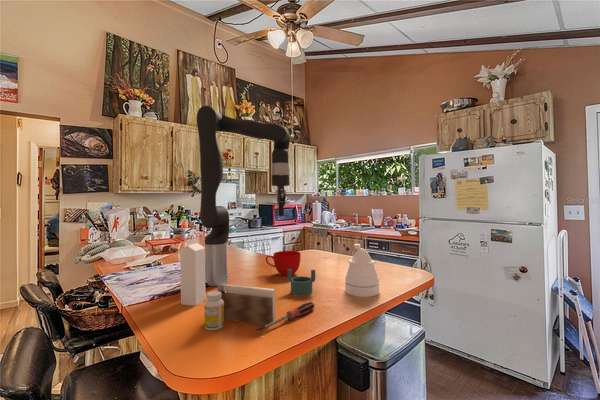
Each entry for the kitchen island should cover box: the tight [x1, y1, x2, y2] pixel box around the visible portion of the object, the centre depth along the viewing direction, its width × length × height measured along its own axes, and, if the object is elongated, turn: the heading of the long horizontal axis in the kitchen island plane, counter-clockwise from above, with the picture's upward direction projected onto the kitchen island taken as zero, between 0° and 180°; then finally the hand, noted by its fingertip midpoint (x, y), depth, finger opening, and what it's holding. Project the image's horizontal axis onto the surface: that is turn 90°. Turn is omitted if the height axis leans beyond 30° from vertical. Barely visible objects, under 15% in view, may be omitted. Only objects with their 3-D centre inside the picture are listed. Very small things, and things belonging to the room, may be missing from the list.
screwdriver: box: [255, 301, 315, 332], centre depth 86 cm, size 25×3×3 cm, turn 139°
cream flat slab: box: [216, 283, 276, 322], centre depth 89 cm, size 19×3×9 cm, turn 71°
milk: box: [179, 238, 207, 307], centre depth 103 cm, size 6×6×22 cm
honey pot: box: [344, 243, 380, 298], centre depth 113 cm, size 13×13×18 cm
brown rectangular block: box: [219, 291, 272, 326], centre depth 88 cm, size 19×4×8 cm, turn 71°
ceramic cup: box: [265, 250, 302, 277], centre depth 139 cm, size 13×17×10 cm
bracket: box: [287, 269, 316, 297], centre depth 113 cm, size 9×9×9 cm
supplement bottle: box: [203, 290, 225, 332], centre depth 83 cm, size 5×5×10 cm
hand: (280, 215), depth 122 cm, fingers closed
